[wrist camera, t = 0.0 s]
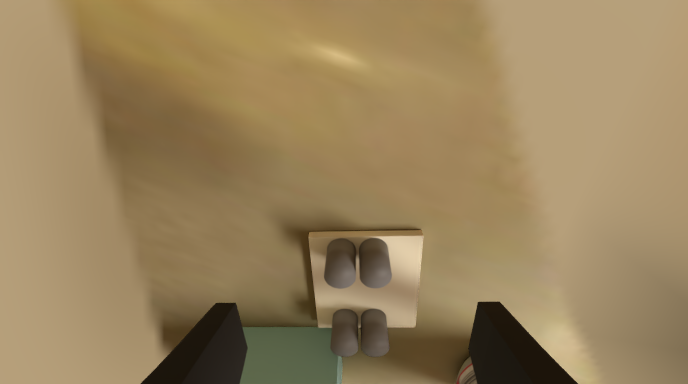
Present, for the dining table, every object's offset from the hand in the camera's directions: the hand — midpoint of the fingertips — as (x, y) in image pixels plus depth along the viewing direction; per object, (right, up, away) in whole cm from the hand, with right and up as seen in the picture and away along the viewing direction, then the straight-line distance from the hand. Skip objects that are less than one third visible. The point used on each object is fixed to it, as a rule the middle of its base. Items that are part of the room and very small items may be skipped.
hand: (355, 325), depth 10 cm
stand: (+1, -2, +12) cm, 13 cm away
